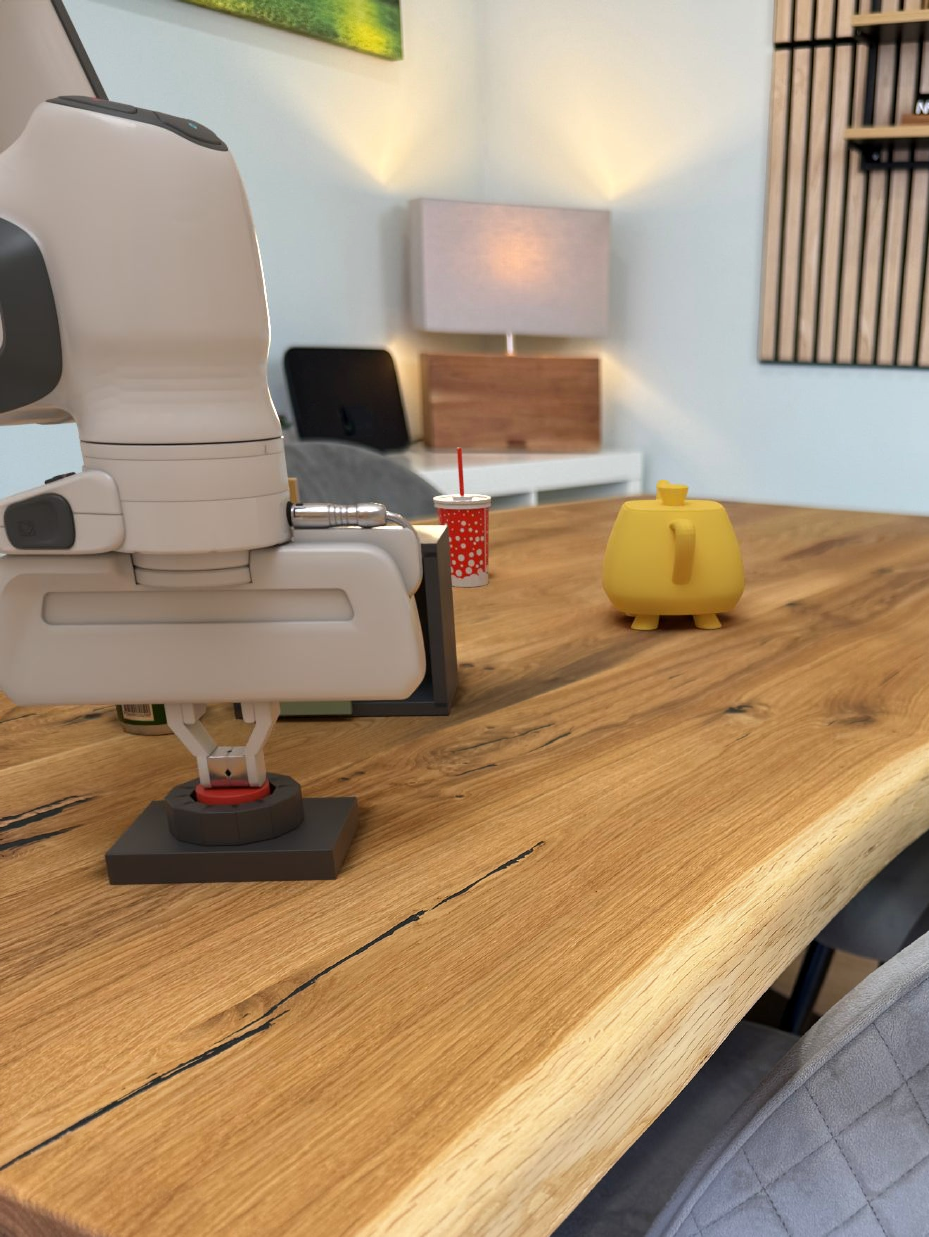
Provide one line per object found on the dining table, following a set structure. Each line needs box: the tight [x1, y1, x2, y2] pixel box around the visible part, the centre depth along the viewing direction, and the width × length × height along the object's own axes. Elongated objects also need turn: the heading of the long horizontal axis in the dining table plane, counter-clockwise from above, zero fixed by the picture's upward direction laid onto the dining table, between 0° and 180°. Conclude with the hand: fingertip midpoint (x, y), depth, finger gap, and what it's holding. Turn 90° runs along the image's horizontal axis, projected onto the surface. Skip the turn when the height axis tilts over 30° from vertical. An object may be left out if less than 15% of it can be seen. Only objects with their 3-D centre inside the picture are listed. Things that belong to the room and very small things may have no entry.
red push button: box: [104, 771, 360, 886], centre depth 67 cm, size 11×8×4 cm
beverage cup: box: [433, 447, 492, 588], centre depth 138 cm, size 6×6×14 cm
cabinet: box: [232, 524, 459, 719], centre depth 93 cm, size 15×9×12 cm, turn 95°
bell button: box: [196, 779, 271, 805], centre depth 66 cm, size 4×4×2 cm
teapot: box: [601, 479, 746, 631], centre depth 122 cm, size 13×20×12 cm
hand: (234, 784), depth 66 cm, fingers closed, pressing on bell button
